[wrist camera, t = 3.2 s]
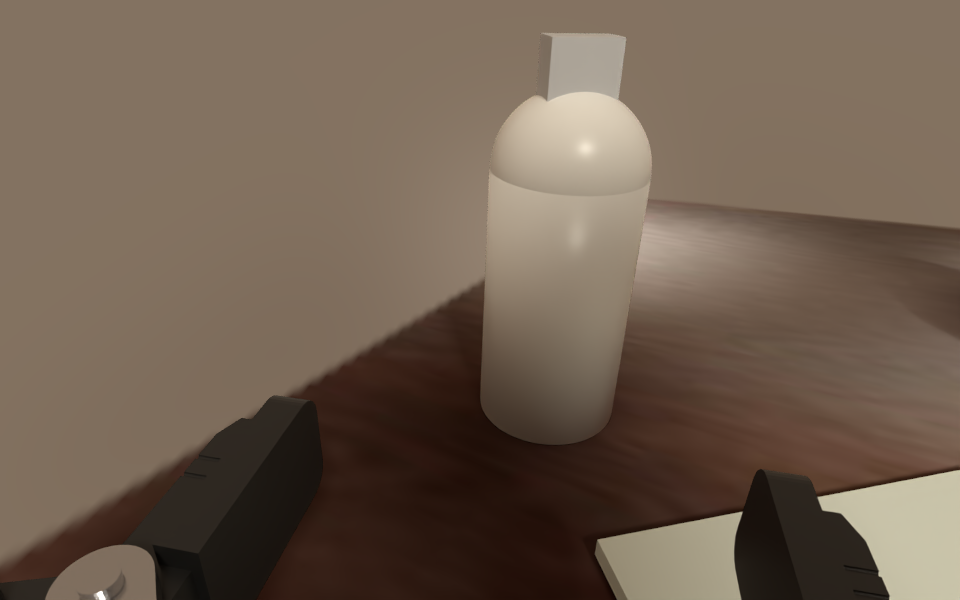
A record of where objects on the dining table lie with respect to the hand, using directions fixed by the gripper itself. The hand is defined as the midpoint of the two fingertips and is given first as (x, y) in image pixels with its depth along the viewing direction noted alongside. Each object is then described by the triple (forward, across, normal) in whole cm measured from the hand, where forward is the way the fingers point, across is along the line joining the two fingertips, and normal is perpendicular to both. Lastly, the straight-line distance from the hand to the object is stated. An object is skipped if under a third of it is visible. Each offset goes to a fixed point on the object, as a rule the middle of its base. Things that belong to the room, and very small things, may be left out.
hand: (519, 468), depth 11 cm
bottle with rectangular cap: (+11, 0, +6) cm, 13 cm away
